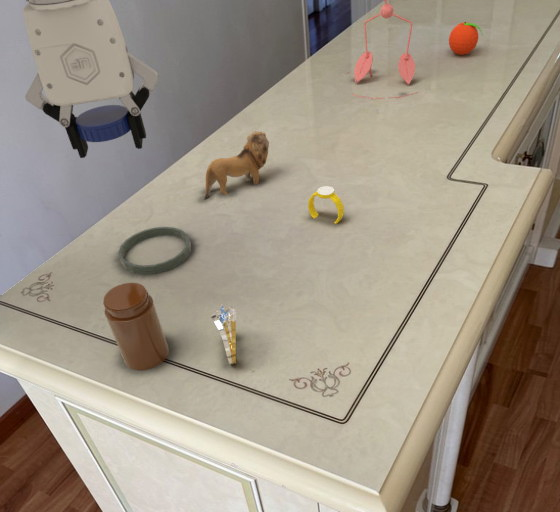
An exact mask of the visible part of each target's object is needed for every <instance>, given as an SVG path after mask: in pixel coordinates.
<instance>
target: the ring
mask: <svg viewBox="0 0 560 512" xmlns="http://www.w3.org/2000/svg"><path fill="white" fill-rule="evenodd" d="M210 317H211V320H212V321H213V323H214V324H215V326H216V328H217V329H218V331H219V334H220V337H221V338H222V339H221V340H222V342H223V347H224V350H225V354H226V358H227V360H228V364H229V365H234V364H235V365H236V364H237V349H236V348H237V341H236V340H237V339H236V338H237V337H236V336H237V329H236V328H237V324H236V321H237V317H238V313H237V310H236V309H235V308H234V307H233V306H226V307H225V306H224V304H223V303H222V304H220V309H216V310H215V311H214V312H211V314H210Z"/></svg>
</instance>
